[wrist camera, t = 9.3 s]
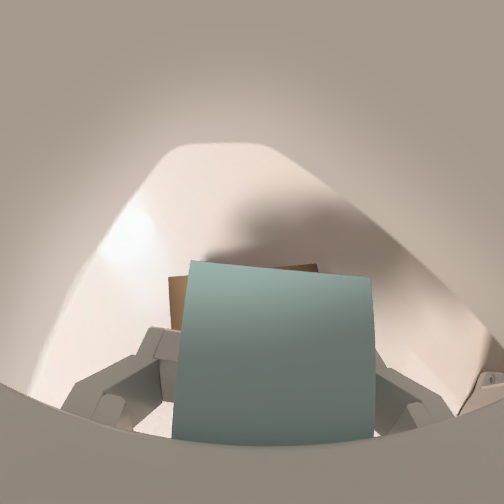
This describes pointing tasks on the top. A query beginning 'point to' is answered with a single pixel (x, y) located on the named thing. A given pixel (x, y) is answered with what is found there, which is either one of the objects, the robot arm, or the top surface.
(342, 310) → the tea tin
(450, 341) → the top surface
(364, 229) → the top surface
